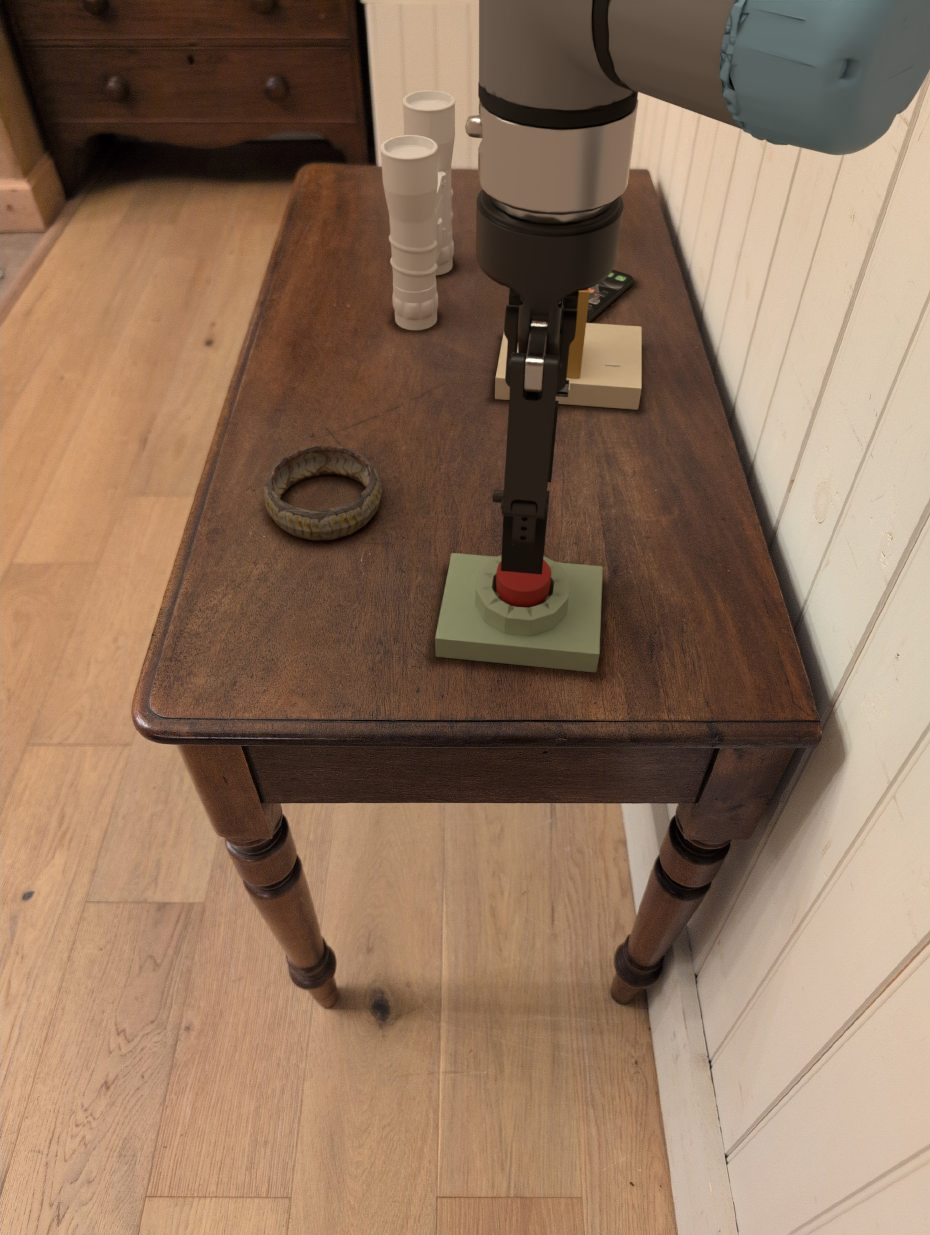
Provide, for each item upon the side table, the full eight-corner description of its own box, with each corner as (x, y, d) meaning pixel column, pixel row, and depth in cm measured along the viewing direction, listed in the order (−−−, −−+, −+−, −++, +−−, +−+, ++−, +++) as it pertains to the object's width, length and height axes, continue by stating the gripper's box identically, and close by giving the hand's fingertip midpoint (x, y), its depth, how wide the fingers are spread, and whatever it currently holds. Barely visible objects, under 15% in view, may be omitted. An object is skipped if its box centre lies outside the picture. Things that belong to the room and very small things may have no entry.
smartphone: (636, 277, 105) (571, 335, 96) (636, 282, 105) (570, 340, 97) (580, 258, 108) (511, 313, 99) (579, 264, 108) (511, 319, 100)
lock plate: (638, 347, 96) (641, 324, 94) (638, 418, 88) (642, 395, 86) (505, 338, 98) (506, 315, 96) (493, 407, 89) (493, 384, 87)
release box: (599, 585, 74) (605, 549, 71) (596, 673, 68) (602, 638, 65) (451, 571, 75) (451, 535, 72) (435, 657, 69) (434, 621, 66)
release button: (551, 571, 70) (552, 555, 68) (547, 610, 67) (549, 594, 66) (498, 566, 70) (499, 550, 69) (493, 605, 67) (493, 588, 66)
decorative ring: (391, 473, 83) (283, 464, 84) (389, 444, 80) (278, 435, 81) (371, 551, 76) (253, 541, 77) (367, 522, 74) (246, 512, 75)
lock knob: (560, 345, 92) (568, 257, 85) (582, 347, 92) (592, 259, 85) (557, 377, 88) (565, 287, 82) (580, 378, 88) (589, 289, 81)
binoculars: (436, 334, 98) (432, 159, 85) (386, 330, 99) (374, 156, 85) (459, 256, 109) (458, 91, 96) (414, 253, 110) (407, 88, 96)
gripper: (498, 107, 54) (490, 423, 71) (448, 293, 40) (453, 632, 57) (627, 113, 53) (587, 430, 70) (622, 305, 39) (574, 644, 56)
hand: (527, 520), depth 63 cm, fingers open, 9 cm apart
